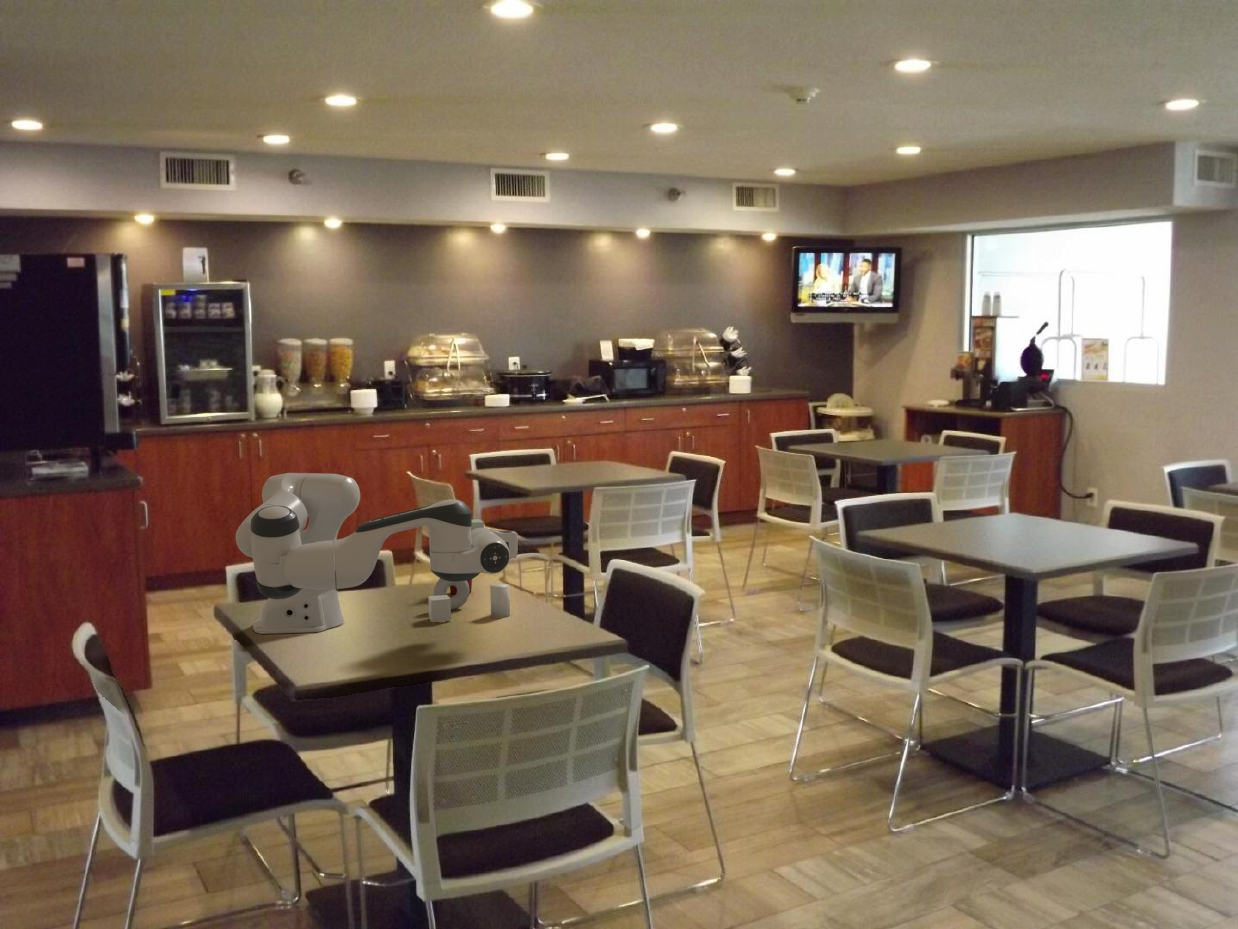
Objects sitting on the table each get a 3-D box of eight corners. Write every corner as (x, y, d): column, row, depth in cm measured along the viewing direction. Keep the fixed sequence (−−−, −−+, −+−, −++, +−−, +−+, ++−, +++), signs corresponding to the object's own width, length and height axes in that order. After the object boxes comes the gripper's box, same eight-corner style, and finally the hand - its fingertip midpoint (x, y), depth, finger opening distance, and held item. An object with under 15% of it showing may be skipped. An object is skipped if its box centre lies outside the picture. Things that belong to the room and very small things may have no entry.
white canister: (492, 618, 306) (492, 588, 305) (489, 614, 311) (488, 584, 310) (511, 616, 307) (511, 586, 307) (507, 612, 312) (507, 583, 311)
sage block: (464, 563, 289) (463, 522, 288) (460, 559, 294) (460, 520, 293) (484, 561, 291) (483, 522, 290) (480, 558, 296) (479, 519, 295)
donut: (467, 606, 320) (466, 570, 319) (471, 608, 317) (471, 572, 316) (432, 610, 315) (431, 574, 314) (436, 613, 312) (435, 576, 311)
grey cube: (431, 623, 301) (431, 600, 301) (428, 619, 306) (428, 596, 305) (451, 621, 303) (450, 598, 302) (447, 617, 307) (447, 595, 307)
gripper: (438, 562, 277) (430, 552, 290) (523, 557, 283) (511, 548, 296) (438, 536, 276) (429, 527, 289) (522, 531, 282) (510, 523, 295)
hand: (471, 538), depth 293 cm, fingers closed on sage block, 5 cm apart
